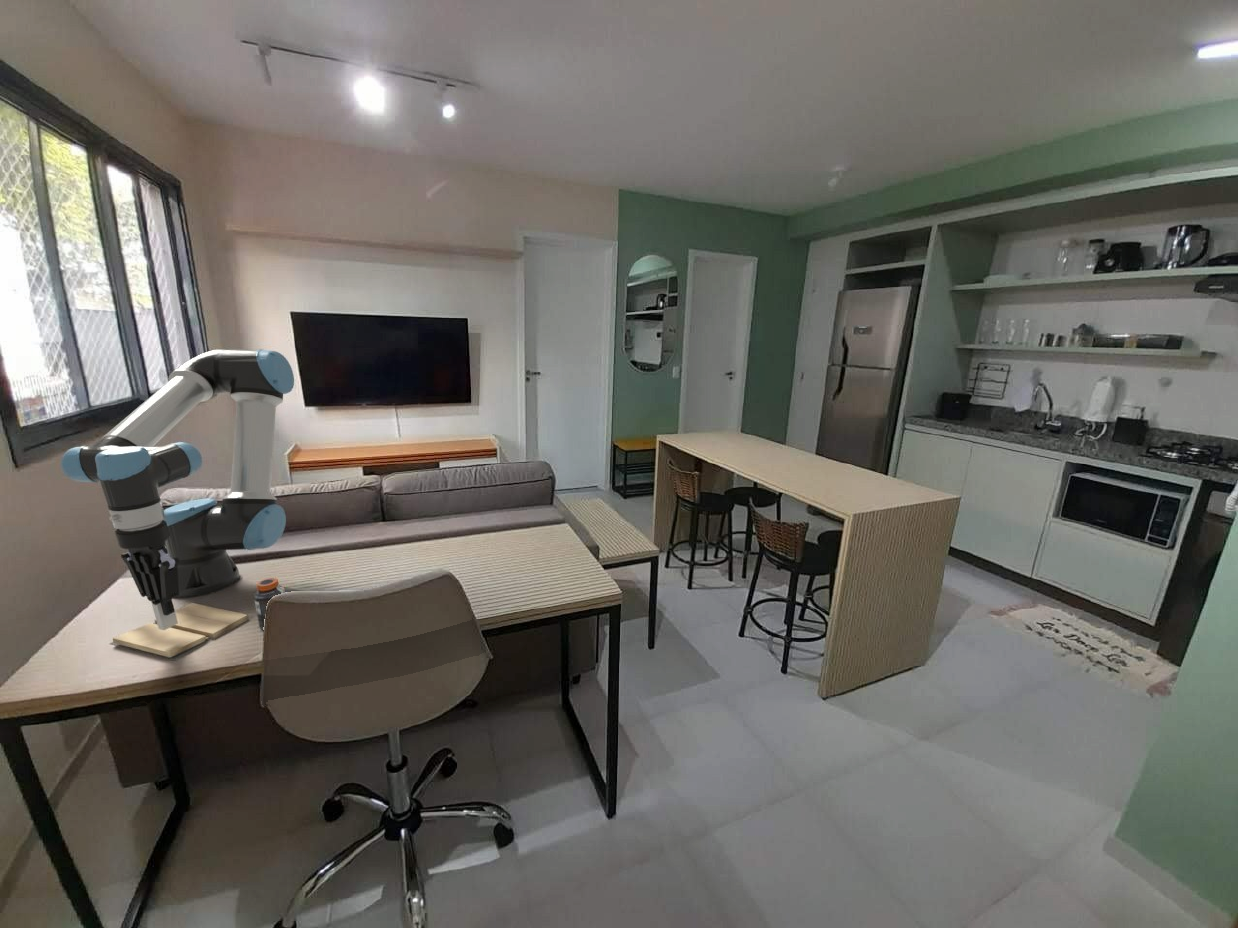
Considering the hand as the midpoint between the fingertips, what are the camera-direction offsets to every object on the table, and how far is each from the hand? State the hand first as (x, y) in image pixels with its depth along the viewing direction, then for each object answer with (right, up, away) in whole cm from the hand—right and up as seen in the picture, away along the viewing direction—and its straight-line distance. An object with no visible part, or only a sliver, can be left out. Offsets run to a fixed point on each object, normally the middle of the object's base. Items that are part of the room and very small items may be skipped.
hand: (168, 626), depth 105 cm
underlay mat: (-3, -4, +8) cm, 9 cm away
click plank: (-4, -4, +3) cm, 6 cm away
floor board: (-2, -3, +11) cm, 11 cm away
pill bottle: (+15, -3, +11) cm, 19 cm away
